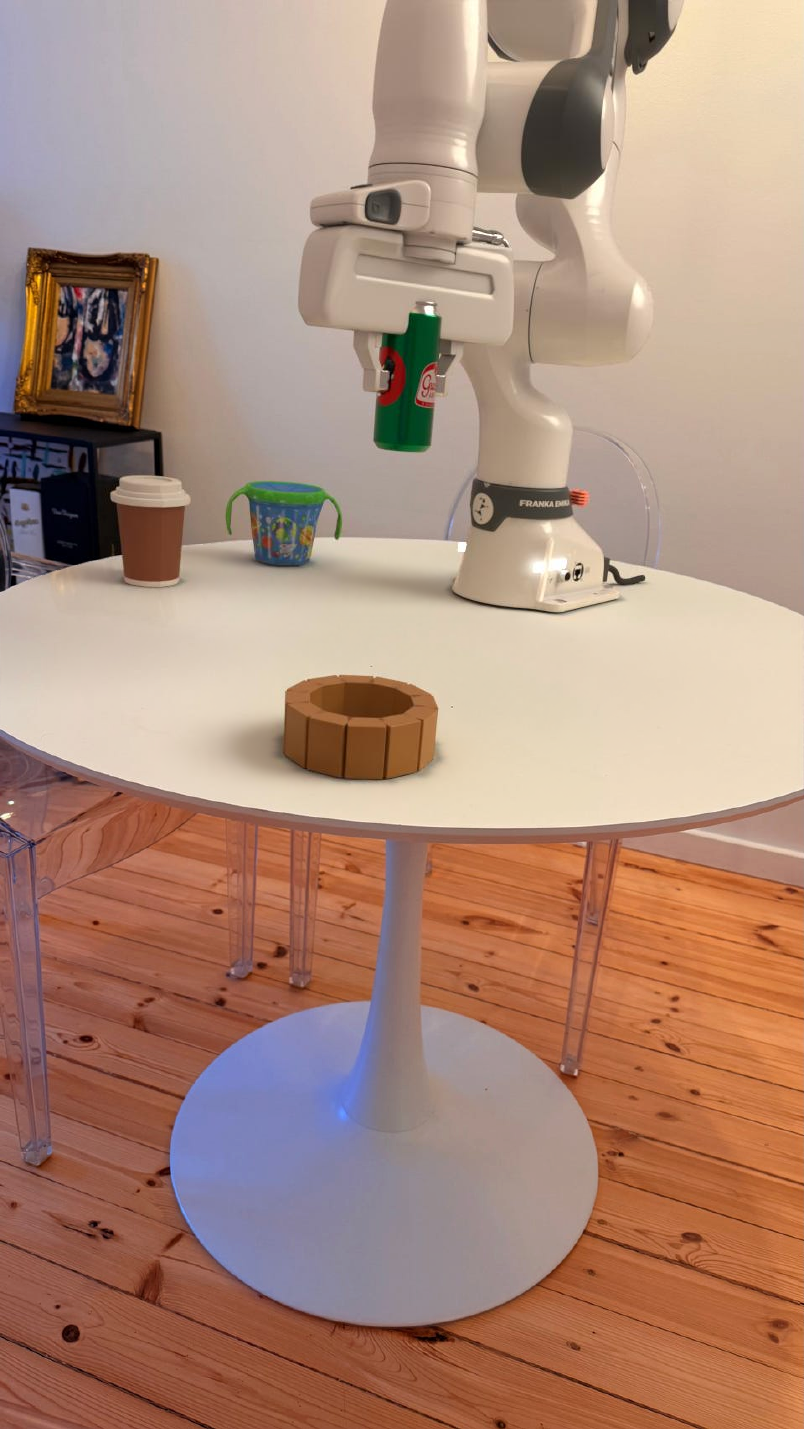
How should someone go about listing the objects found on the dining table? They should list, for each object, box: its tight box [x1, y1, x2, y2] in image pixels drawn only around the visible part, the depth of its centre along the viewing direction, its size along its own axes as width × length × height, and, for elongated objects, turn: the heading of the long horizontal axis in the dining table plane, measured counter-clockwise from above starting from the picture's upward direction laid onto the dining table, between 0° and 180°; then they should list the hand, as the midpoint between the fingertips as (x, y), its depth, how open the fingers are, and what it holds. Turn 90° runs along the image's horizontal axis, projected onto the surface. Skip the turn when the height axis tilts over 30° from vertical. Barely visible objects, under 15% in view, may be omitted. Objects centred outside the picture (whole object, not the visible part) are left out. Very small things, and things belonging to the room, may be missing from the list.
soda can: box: [372, 300, 442, 454], centre depth 84 cm, size 5×5×12 cm
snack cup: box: [225, 480, 343, 566], centre depth 133 cm, size 16×10×10 cm
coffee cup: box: [110, 474, 192, 588], centre depth 117 cm, size 9×9×12 cm
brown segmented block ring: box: [283, 674, 439, 780], centre depth 74 cm, size 11×11×4 cm
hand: (405, 394), depth 85 cm, fingers closed on soda can, 5 cm apart
